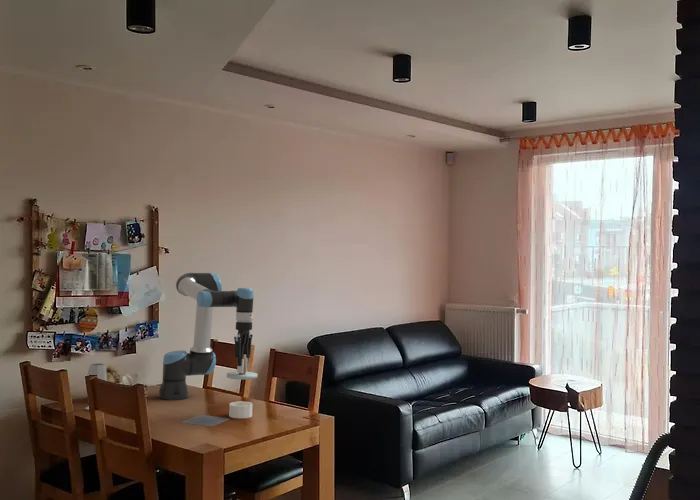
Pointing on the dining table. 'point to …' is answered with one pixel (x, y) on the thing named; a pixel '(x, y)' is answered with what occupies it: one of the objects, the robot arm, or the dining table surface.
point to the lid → (242, 375)
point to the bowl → (240, 409)
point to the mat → (205, 420)
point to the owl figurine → (112, 374)
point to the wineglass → (97, 372)
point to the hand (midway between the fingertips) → (242, 372)
